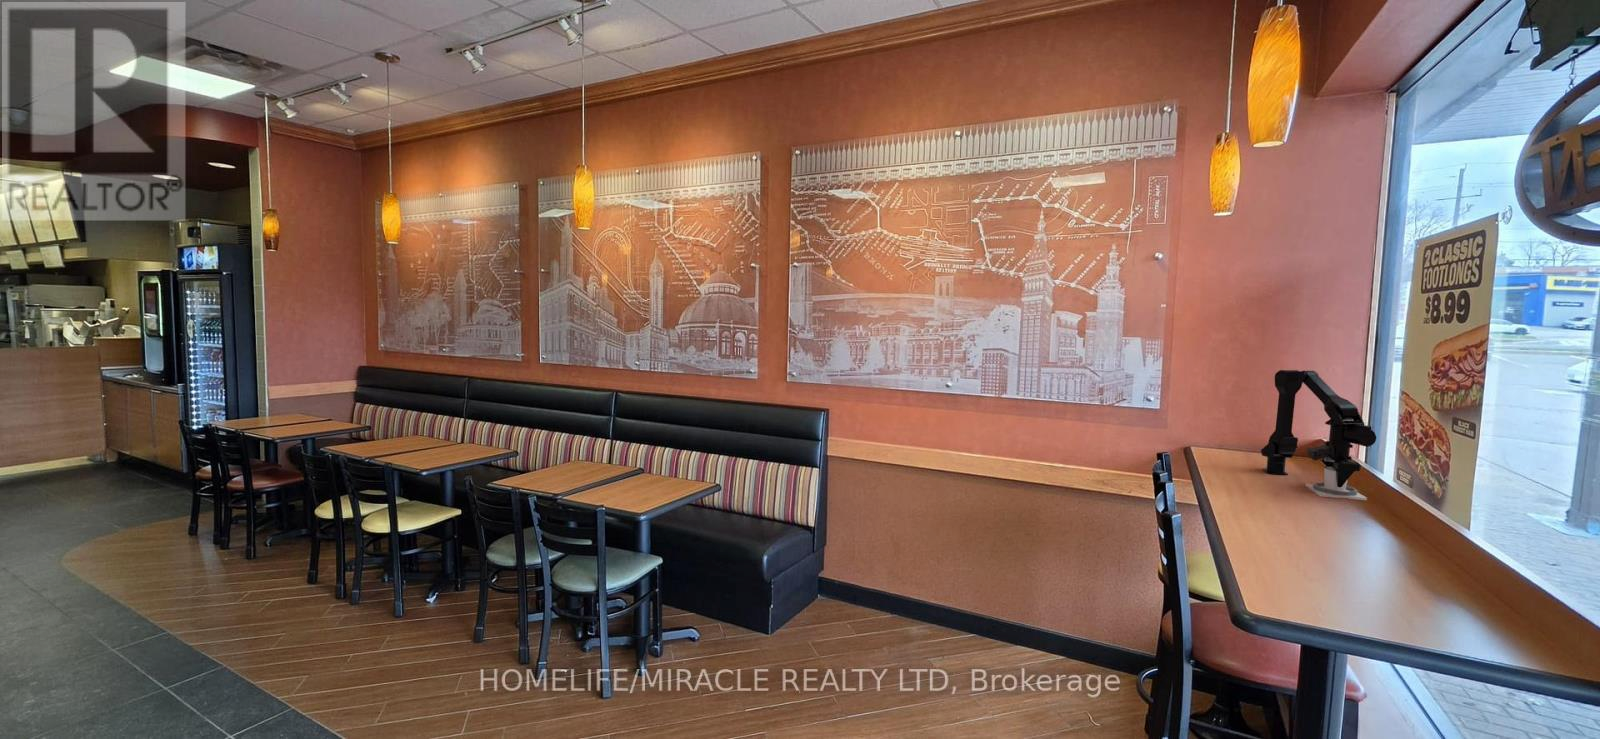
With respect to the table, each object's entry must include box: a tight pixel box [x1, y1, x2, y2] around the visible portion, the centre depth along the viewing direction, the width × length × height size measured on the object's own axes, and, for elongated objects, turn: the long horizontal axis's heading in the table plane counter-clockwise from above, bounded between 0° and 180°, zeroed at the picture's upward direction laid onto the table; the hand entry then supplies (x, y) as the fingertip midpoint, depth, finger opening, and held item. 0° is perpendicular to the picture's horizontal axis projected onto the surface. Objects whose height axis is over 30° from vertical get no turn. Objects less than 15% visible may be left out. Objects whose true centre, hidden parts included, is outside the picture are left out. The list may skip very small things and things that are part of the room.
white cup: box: [1323, 466, 1349, 491], centre depth 226 cm, size 7×7×7 cm
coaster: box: [1304, 482, 1368, 501], centre depth 226 cm, size 13×13×2 cm
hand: (1335, 484), depth 226 cm, fingers closed on white cup, 6 cm apart
